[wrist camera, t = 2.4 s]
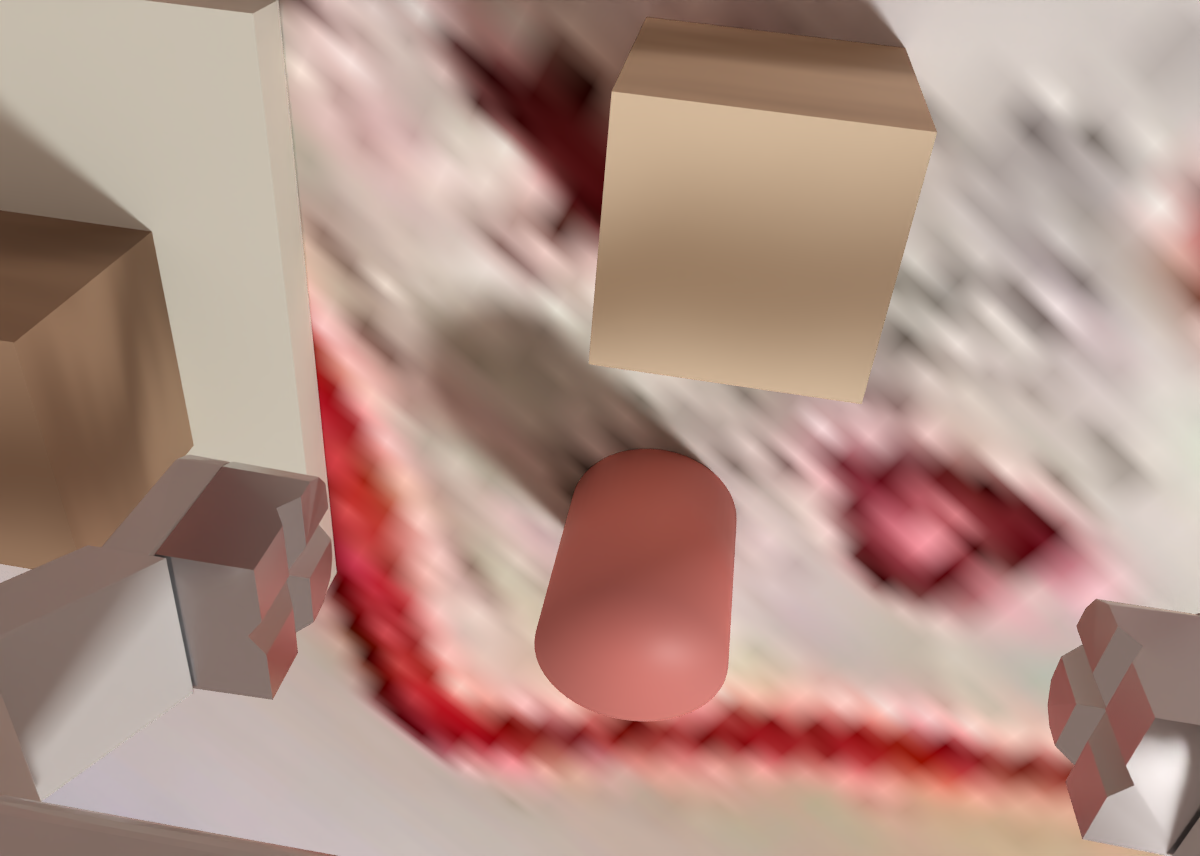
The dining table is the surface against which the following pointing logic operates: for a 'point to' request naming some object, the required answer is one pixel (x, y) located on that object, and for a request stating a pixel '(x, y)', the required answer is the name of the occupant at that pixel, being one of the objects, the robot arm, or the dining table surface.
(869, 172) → the beech cube
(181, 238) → the board
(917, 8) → the dining table surface
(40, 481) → the walnut base
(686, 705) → the red capsule
